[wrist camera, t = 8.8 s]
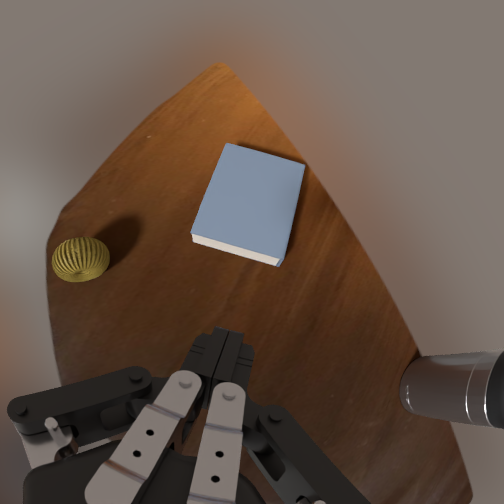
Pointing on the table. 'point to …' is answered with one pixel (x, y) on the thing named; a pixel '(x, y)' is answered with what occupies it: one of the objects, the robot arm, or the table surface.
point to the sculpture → (80, 259)
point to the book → (249, 205)
